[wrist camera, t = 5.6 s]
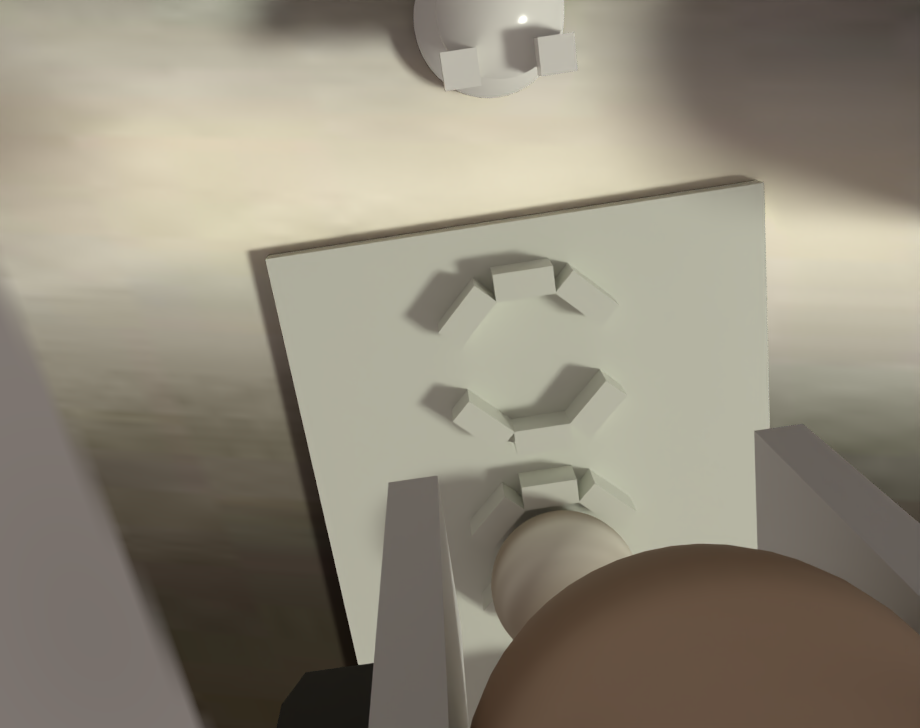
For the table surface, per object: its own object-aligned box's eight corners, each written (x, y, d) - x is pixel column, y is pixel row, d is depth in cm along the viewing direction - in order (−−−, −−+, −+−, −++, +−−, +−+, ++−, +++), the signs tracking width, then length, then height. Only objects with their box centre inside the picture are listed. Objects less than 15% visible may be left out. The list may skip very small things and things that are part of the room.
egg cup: (402, -49, 25) (396, -79, 19) (552, -73, 24) (585, -108, 19) (426, 107, 26) (427, 117, 21) (567, 85, 26) (602, 90, 21)
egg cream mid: (477, 495, 30) (487, 576, 25) (616, 474, 30) (652, 551, 25) (495, 612, 32) (508, 708, 27) (627, 592, 32) (663, 685, 27)
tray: (268, 255, 27) (258, 267, 26) (756, 180, 27) (777, 187, 26) (394, 810, 35) (393, 845, 34) (771, 755, 35) (788, 787, 34)
